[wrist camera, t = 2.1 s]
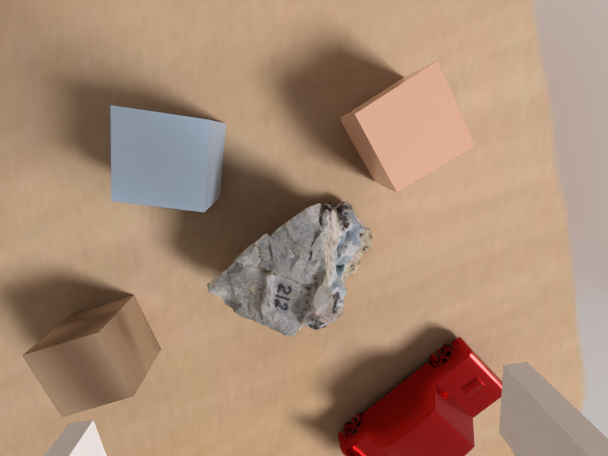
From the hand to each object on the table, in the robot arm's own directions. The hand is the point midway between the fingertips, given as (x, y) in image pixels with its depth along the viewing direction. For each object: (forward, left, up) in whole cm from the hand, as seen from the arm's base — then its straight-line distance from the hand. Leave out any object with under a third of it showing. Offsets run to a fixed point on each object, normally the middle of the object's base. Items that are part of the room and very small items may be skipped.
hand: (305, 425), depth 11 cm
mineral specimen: (0, 0, -15) cm, 15 cm away
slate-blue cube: (-6, +8, -15) cm, 18 cm away
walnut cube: (-14, -4, -15) cm, 21 cm away
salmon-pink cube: (+8, +8, -15) cm, 19 cm away
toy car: (+9, -15, -15) cm, 23 cm away
